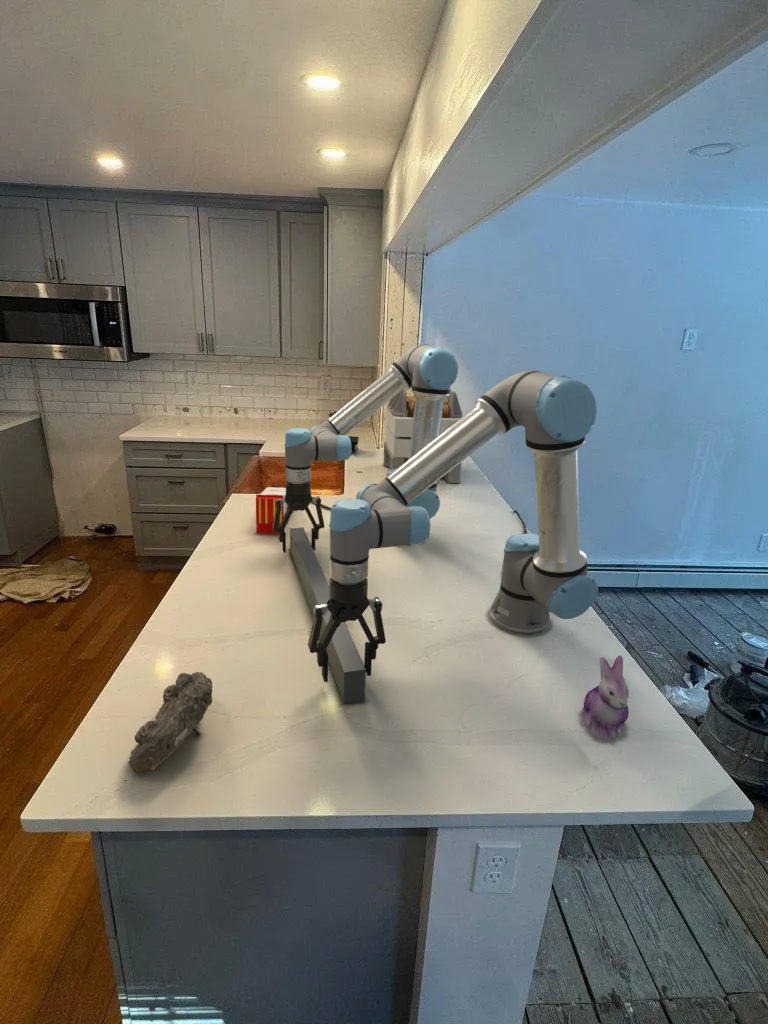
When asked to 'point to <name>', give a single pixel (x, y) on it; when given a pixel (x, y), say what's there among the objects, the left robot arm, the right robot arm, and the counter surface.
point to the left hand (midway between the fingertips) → (298, 549)
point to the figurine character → (354, 443)
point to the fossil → (172, 721)
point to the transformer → (401, 429)
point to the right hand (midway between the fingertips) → (346, 674)
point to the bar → (341, 646)
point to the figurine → (607, 702)
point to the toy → (269, 509)
